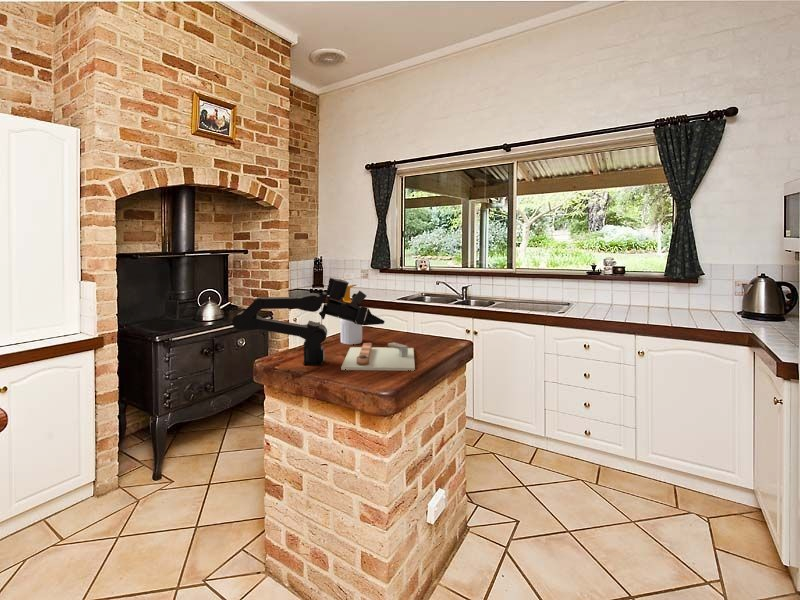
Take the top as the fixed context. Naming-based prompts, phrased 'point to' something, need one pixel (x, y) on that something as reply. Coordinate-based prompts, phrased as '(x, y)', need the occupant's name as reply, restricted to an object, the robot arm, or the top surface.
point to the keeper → (400, 348)
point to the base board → (380, 360)
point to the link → (364, 354)
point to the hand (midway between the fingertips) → (382, 322)
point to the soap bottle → (350, 326)
